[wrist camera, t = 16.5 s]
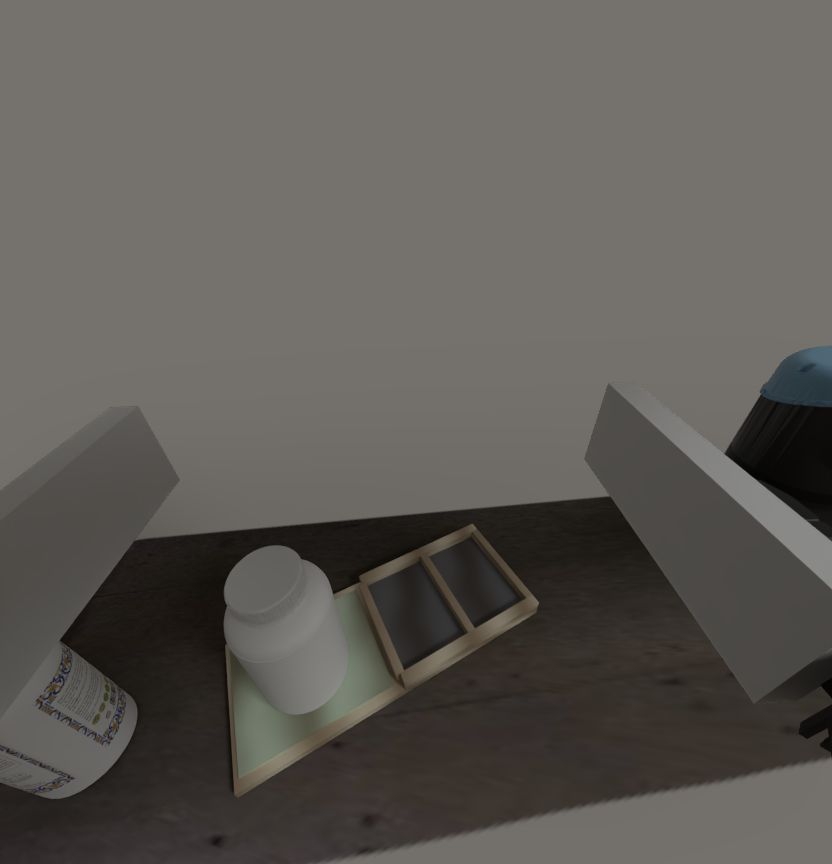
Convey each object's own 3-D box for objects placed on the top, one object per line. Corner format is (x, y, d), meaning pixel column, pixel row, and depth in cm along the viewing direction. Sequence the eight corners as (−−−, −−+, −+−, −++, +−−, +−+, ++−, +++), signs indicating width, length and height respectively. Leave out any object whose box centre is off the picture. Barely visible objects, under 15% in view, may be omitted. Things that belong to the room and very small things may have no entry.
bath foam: (120, 677, 34) (-40, 547, 22) (155, 727, 31) (-13, 604, 19) (27, 757, 29) (-236, 644, 18) (56, 826, 26) (-244, 742, 14)
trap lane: (471, 533, 47) (472, 523, 45) (535, 612, 38) (539, 602, 37) (228, 648, 36) (221, 639, 35) (237, 797, 27) (229, 791, 26)
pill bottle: (263, 735, 29) (191, 652, 21) (265, 638, 35) (211, 544, 27) (357, 698, 31) (327, 608, 22) (343, 613, 37) (316, 517, 29)
